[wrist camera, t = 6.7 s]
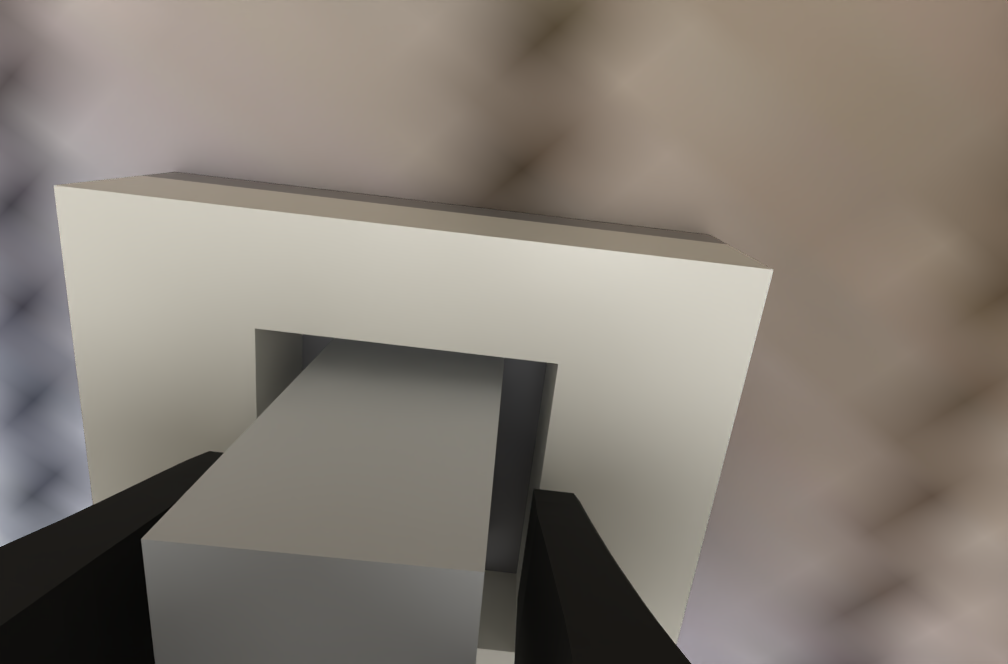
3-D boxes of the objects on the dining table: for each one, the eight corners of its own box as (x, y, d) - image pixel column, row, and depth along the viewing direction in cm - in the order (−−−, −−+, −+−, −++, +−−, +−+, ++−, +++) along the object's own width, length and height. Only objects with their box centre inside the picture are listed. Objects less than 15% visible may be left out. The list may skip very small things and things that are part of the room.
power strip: (569, 872, 17) (579, 1041, 14) (214, 832, 17) (143, 992, 14) (710, 234, 11) (782, 274, 8) (174, 171, 11) (36, 186, 8)
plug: (487, 532, 12) (455, 881, 6) (339, 518, 12) (176, 853, 6) (505, 346, 11) (484, 571, 5) (341, 330, 11) (140, 540, 5)
